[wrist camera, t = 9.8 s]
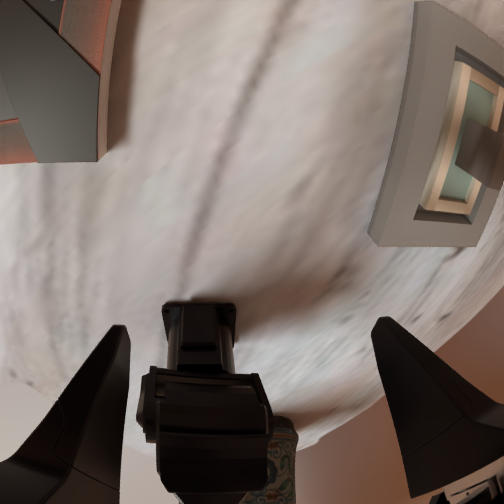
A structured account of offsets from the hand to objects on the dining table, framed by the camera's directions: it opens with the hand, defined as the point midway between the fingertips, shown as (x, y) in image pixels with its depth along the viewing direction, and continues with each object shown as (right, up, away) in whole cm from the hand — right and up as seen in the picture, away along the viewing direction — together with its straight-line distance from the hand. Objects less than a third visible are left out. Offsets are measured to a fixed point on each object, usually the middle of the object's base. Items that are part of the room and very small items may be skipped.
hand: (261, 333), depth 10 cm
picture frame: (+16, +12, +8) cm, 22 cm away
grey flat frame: (+16, +12, +9) cm, 22 cm away
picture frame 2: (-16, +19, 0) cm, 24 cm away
